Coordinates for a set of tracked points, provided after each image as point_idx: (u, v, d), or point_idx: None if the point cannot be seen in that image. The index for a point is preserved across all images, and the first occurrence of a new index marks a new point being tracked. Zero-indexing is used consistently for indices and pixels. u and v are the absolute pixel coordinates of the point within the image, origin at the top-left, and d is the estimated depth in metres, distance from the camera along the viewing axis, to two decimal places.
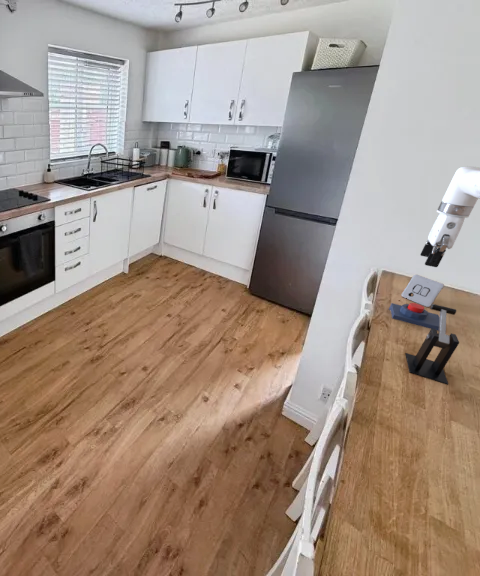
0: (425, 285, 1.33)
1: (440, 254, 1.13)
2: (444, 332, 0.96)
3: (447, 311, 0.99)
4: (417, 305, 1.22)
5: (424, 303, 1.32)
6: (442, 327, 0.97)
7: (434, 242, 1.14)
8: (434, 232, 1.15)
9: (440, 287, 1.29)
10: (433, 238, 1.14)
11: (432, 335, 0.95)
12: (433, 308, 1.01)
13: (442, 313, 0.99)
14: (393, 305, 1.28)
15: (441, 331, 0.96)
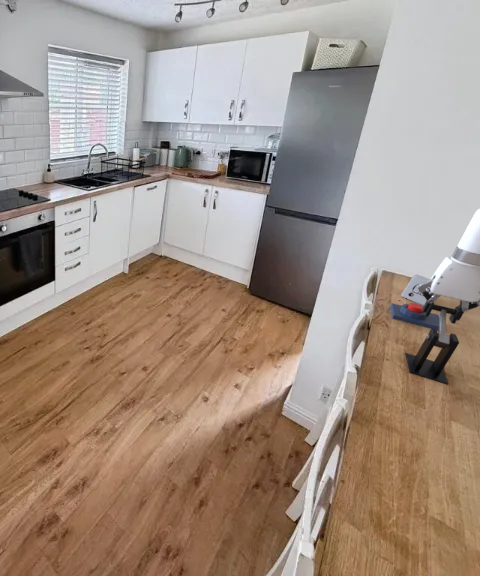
0: None
1: None
2: (444, 332, 0.96)
3: (447, 311, 0.99)
4: (417, 305, 1.22)
5: (424, 303, 1.32)
6: (442, 327, 0.97)
7: (478, 298, 0.94)
8: (470, 288, 0.94)
9: None
10: (473, 295, 0.94)
11: (432, 335, 0.95)
12: (433, 308, 1.01)
13: (442, 313, 0.99)
14: (393, 305, 1.28)
15: (441, 331, 0.96)
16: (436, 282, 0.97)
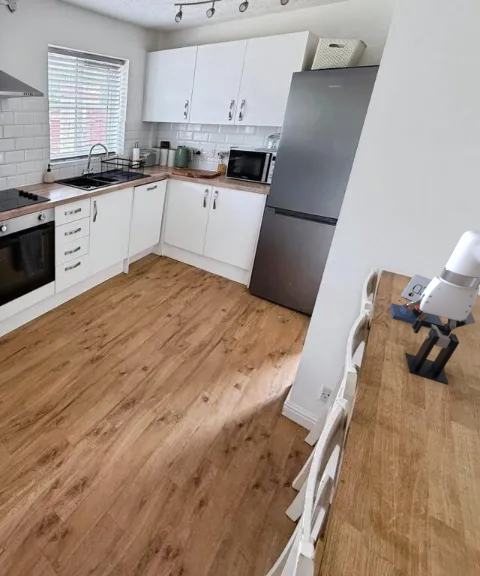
0: (425, 285, 1.33)
1: None
2: None
3: (437, 326, 1.03)
4: (417, 305, 1.22)
5: None
6: (437, 332, 0.98)
7: (465, 317, 0.98)
8: (457, 307, 0.97)
9: None
10: (460, 314, 0.98)
11: (432, 335, 0.95)
12: (423, 323, 1.04)
13: (433, 326, 1.02)
14: (393, 305, 1.28)
15: None
16: (425, 301, 1.01)
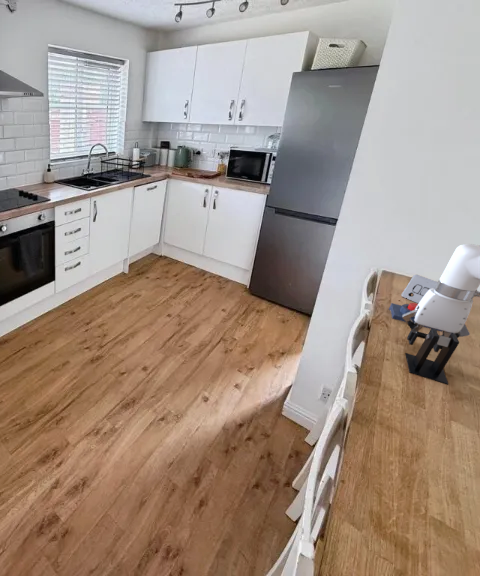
0: (425, 285, 1.33)
1: None
2: None
3: None
4: None
5: None
6: None
7: (459, 330, 0.98)
8: (451, 320, 0.98)
9: None
10: (454, 326, 0.98)
11: (432, 335, 0.95)
12: (419, 333, 1.05)
13: None
14: (393, 305, 1.28)
15: None
16: (420, 313, 1.02)
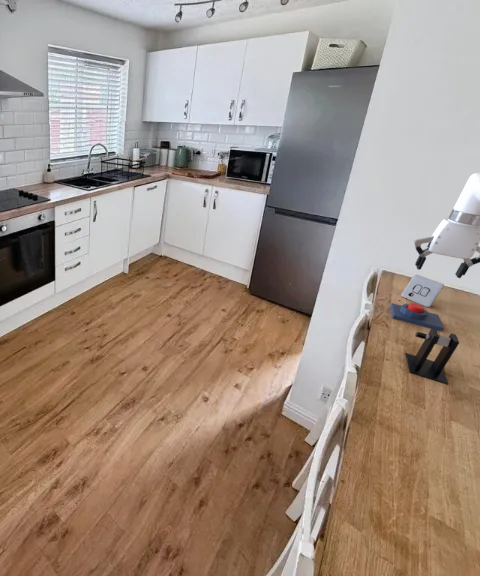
0: (425, 285, 1.33)
1: None
2: None
3: None
4: (417, 305, 1.22)
5: (424, 303, 1.32)
6: None
7: (471, 255, 1.06)
8: (464, 246, 1.05)
9: (440, 287, 1.29)
10: (467, 252, 1.06)
11: (432, 335, 0.95)
12: (419, 334, 1.05)
13: None
14: (393, 305, 1.28)
15: None
16: (434, 242, 1.09)
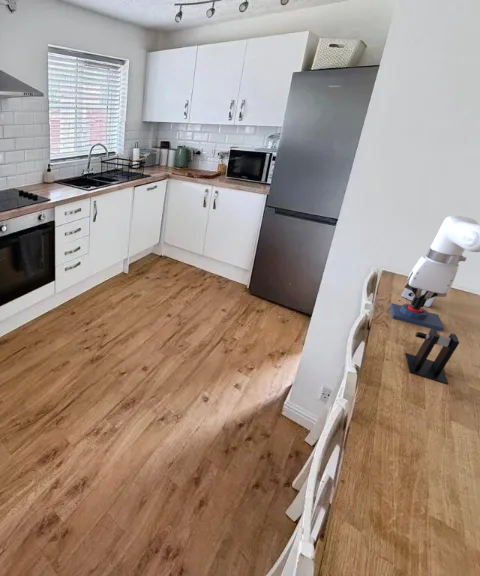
0: None
1: None
2: None
3: None
4: None
5: None
6: None
7: (447, 291, 1.14)
8: (440, 282, 1.14)
9: None
10: (443, 287, 1.14)
11: (432, 335, 0.95)
12: (419, 334, 1.05)
13: None
14: (393, 305, 1.28)
15: None
16: (413, 277, 1.17)
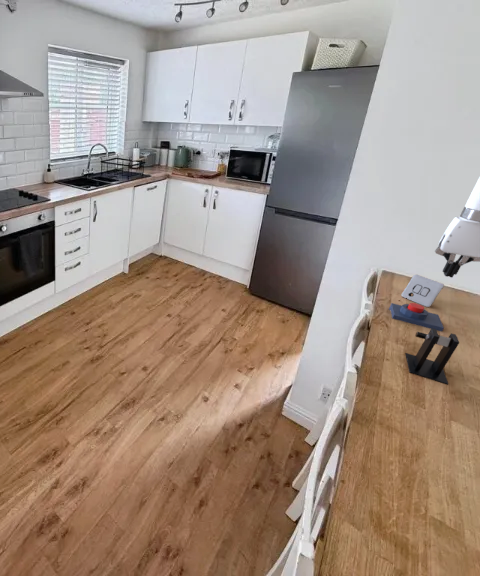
0: (425, 285, 1.33)
1: None
2: None
3: None
4: (417, 305, 1.22)
5: (424, 303, 1.32)
6: None
7: None
8: (477, 244, 1.03)
9: (440, 287, 1.29)
10: None
11: (432, 335, 0.95)
12: (419, 334, 1.05)
13: None
14: (393, 305, 1.28)
15: None
16: (446, 240, 1.07)
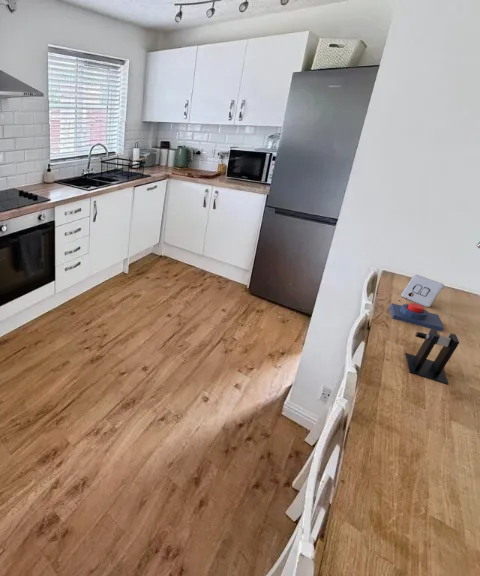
0: (425, 285, 1.33)
1: None
2: None
3: None
4: (417, 305, 1.22)
5: (424, 303, 1.32)
6: None
7: None
8: None
9: (440, 287, 1.29)
10: None
11: (432, 335, 0.95)
12: (419, 334, 1.05)
13: None
14: (393, 305, 1.28)
15: None
16: None
